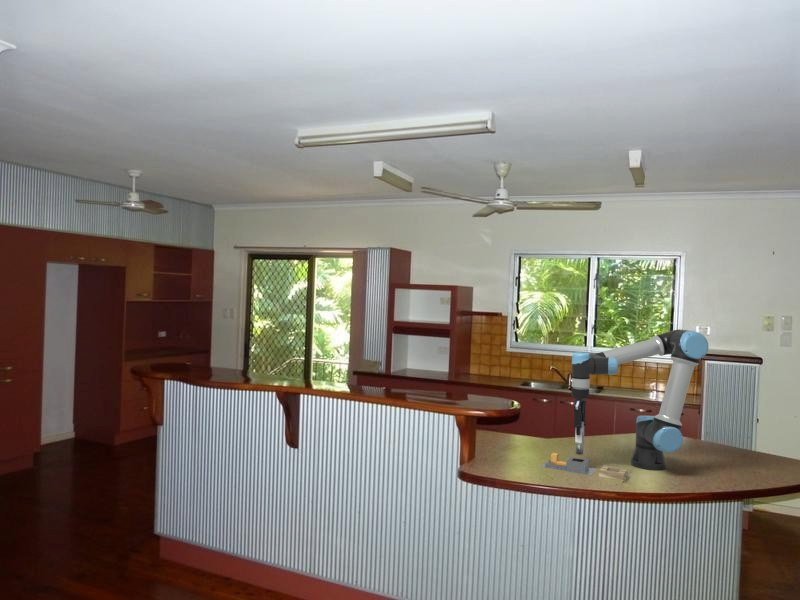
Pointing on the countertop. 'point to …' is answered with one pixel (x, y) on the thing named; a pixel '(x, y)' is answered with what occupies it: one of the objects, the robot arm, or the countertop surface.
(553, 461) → the orange block
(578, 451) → the peg
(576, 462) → the socket station
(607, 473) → the light wood square frame
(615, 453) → the countertop surface
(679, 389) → the robot arm
